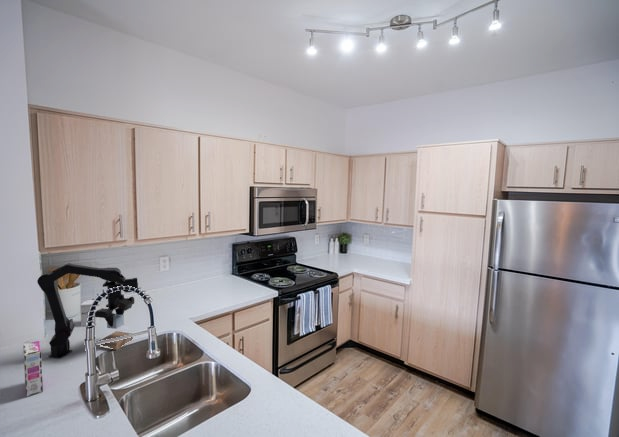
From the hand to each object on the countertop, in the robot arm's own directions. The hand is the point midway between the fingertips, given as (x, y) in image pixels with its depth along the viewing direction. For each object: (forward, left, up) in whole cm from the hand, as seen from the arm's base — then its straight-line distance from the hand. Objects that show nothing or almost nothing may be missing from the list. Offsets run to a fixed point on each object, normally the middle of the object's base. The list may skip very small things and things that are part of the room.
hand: (115, 324), depth 151 cm
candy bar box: (-35, +5, -10) cm, 37 cm away
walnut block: (0, 0, -11) cm, 11 cm away
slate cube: (0, 0, -1) cm, 1 cm away
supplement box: (+19, +32, -10) cm, 39 cm away
